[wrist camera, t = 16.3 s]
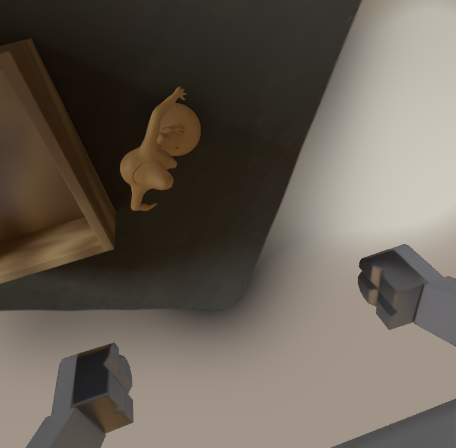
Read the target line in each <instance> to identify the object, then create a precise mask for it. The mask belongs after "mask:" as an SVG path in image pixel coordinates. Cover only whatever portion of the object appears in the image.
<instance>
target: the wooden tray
mask: <svg viewBox="0 0 456 448" xmlns="http://www.w3.org/2000/svg"><path fill="white" fill-rule="evenodd" d="M115 219H116V212H115V210H114V208H113V206H112V203H111V201H110V199H109V197H108V195H107V193H106V191H105V189H104V187H103V185H102V183H101V181H100V179H99V177H98V175H97V172H96V170H95V168H94V166H93V164H92V162H91V160H90V158H89V156H88V154H87V152H86V150H85V148H84V146H83V144H82V142H81V139H80V137H79V135H78V133H77V131H76V129H75V127H74V125H73V123H72V121H71V119H70V117H69V115H68V113H67V111H66V108H65V106H64V104H63V102H62V100H61V98H60V96H59V94H58V92H57V90H56V88H55V86H54V84H53V82H52V80H51V78H50V75H49V73H48V71H47V69H46V67H45V65H44V63H43V61H42V59H41V57H40V55H39V53H38V51H37V49H36V47H35V44H34V42H33V40H32V39H26V40H22V41H18V42H14V43H10V44H6V45H2V46H0V284H1V283H4V282H7V281H11V280H14V279H17V278H20V277H24V276H27V275H30V274H34V273H37V272H40V271H44V270H47V269H50V268H53V267H57V266H60V265H63V264H67V263H70V262H73V261H77V260H80V259H83V258H86V257H90V256H93V255H96V254H100V253H103V252H106V251H109V250H113V249H114V243H115Z"/></svg>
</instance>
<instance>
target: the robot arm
mask: <svg viewBox="0 0 456 448" xmlns="http://www.w3.org/2000/svg"><path fill="white" fill-rule="evenodd" d="M359 267H360V269H361V270H362V272H361V273H360V275H359V276H358V285H359V288H360V291H361V293H362V295H363V297H364V298H365V299H366V301H367V302H368V303H369V304H371V305H374V306H376V307H377V308H376V314H377V315H378V316H379V318H380V319H381V320H382V321H383V323H384V324H385V325H386V327H387V328H388V329H389V330H391V329H394V328H396V327H399V326H403V325H406V324H409V323H412V322H414V324H416V325H418V326H420V327H421V328H423V329H425V330H427V331H429V332H430V333H432V334H434V335H436V336H438V337H440V338H441V339H443V340H445V341H447V342H449V343H450V344H452V345H454V346H456V279H455V278H452V277H449V276H447V277H443V276H442V275H441V274H440V273H438V272H437V271H436V270H435V269H434V268H433V267H432V266H431V265H430V264H429V263H427V262H426V261H425V260H424V259H423V258H422V257H420V255H418V254H417V253H416V252H415V251H414V250H413V249H412V248H411V247H409V246H408V245H406V244H403V245H400V246H398V247H395V248H392V249H387V250H385V251H382V252H379V253H376V254H373V255H370V256H368V257H365V258H362V259H361V260H360V263H359ZM131 387H132V375H131V370H130V366H129V364H128V361H127V360H126V358H125V357H124V356H122V355H119V348H118V347H117V346H116V344H115V343H112V344H108V345H105V346H102V347H98V348H95V349H92V350H89V351H85V352H82V353H79V354H76V355H73V356H70V357H67V358H64V359H62V361H61V363H60V365H59V370H58V376H57V382H56V389H55V395H54V402H53V408H52V414H51V416H49V417H46V418H45V420H44V421H43V423H42V424H41V426H40V427H39V429H38V430H37V432H36V433H35V435H34V436H33V438H32V439H31V441H30V442H29V444H28V445H27V447H26V448H100V447H101V445H102V443H103V441H104V438H105V436H106V435H105V433H108V432H110V431H113V430H116V429H118V428H121V427H123V426H126V425H128V424H131V423H133V400H132V398H131V397H130V396H129V395H128V393H129V391H130V389H131ZM331 448H456V399H454V400H451V401H449V402H446V403H444V404H441V405H439V406H436V407H434V408H431V409H429V410H426V411H423V412H421V413H418V414H416V415H413V416H411V417H408V418H406V419H403V420H401V421H398V422H395V423H393V424H390V425H388V426H385V427H383V428H380V429H377V430H375V431H372V432H370V433H367V434H365V435H362V436H360V437H357V438H355V439H352V440H350V441H347V442H344V443H342V444H339V445H337V446H334V447H331Z"/></svg>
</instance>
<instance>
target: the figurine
mask: <svg viewBox="0 0 456 448" xmlns="http://www.w3.org/2000/svg"><path fill="white" fill-rule="evenodd" d="M180 88H181V86H179V87H178V88H176V90H175V91H174V93H173V94H172V95H171V96H169V97H168V98H167V99H165V100H164V101H163V102H162V103H161V104H160V105H158V106H157V107H156V108H155V109H154V111H153V113H152V115H151V118H150V121H149V124H148V128H147V131H146V136H145V139H144V141H143V142H142V144H141V146H140V147H139V148H137V149H134V150H132V151H130V152H129V153H128V154H126V155H125V156H124V158H123V159H122V161H121V164H120V172H121V175H122V177H123V179H124V180H125V181H126V182H127V183H128V184H130V185H131V189H132V198H131V209H132V210H134V211H138V210H142V211H146V210H150V209H151V208H153V207H154V206H155V205H157V203H156V204H152V205H151V206H150V205H146V204H141V201H142V198H143V195H144V194H145V192H146V191H148V190H149V189H151V188H154V189H159V190H166V189H169V188H171V186H172V184H173V182H174V180H173V177H172V176H171V175H170V174H169V173H168V172H167V169H170V168H175V167H176V166H177V162H176V160H175V159H174V158H173V157H171V156H181V155H184V154H187V153H189V152H190V151H192V150H193V149H194V148H195V146H196V145H197V143H198V141H199V139H200V135H201V126H200V122H199V119H198V117H197V116H196V114H195V113H194V112H193V111H192V110H191V109H190V108H189V107H187V106H185V105H183V104H180V103H175V102H176V100H177V99H178V98H179V97H180V98H181V99H182V100H185V98H183V95H187V94H186V93H183V91H184V89H180ZM170 155H171V156H170Z"/></svg>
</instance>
